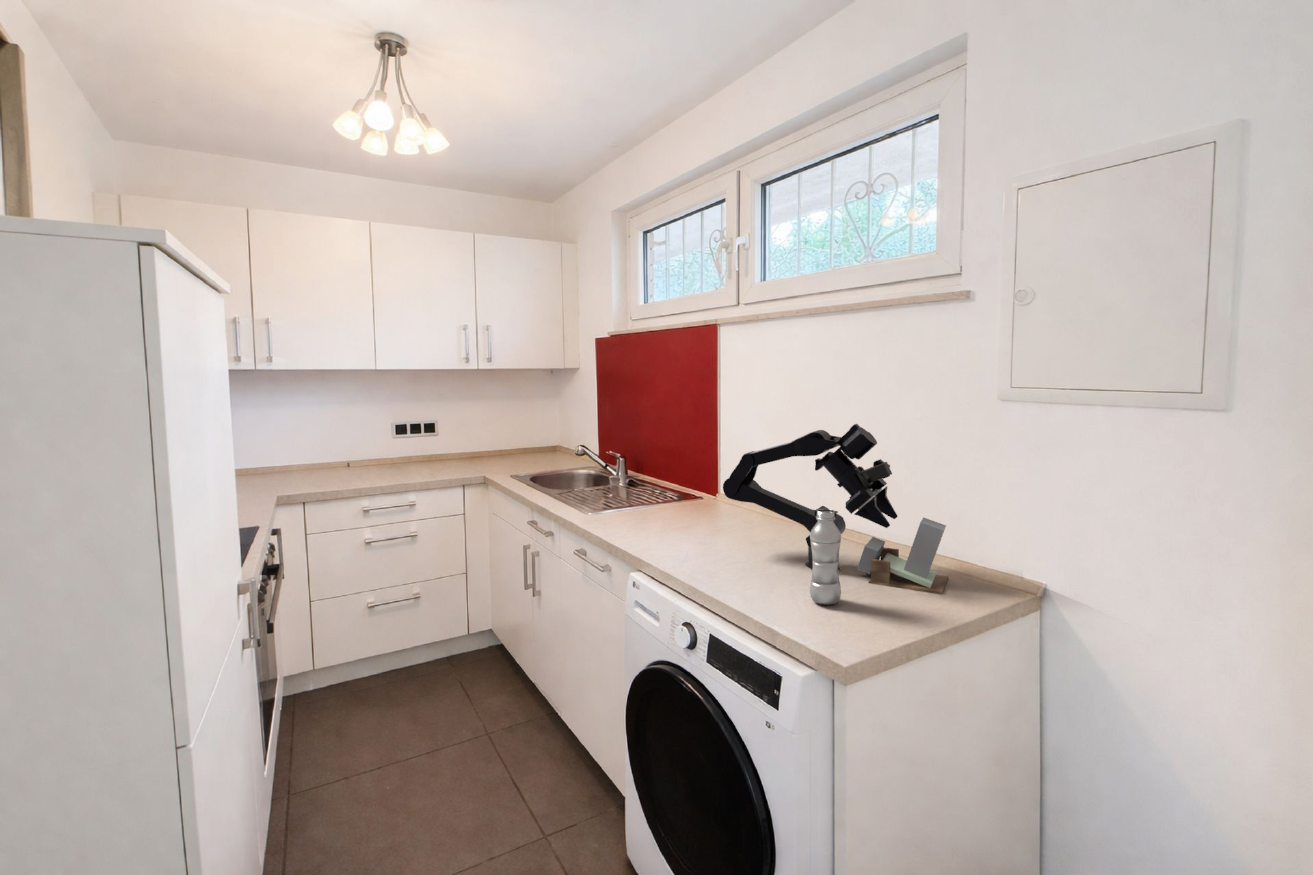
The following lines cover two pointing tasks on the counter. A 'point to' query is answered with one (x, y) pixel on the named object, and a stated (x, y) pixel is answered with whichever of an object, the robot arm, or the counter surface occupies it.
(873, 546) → the trapdoor
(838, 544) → the plastic bottle
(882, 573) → the frame
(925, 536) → the grey rectangular block
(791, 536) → the counter surface
